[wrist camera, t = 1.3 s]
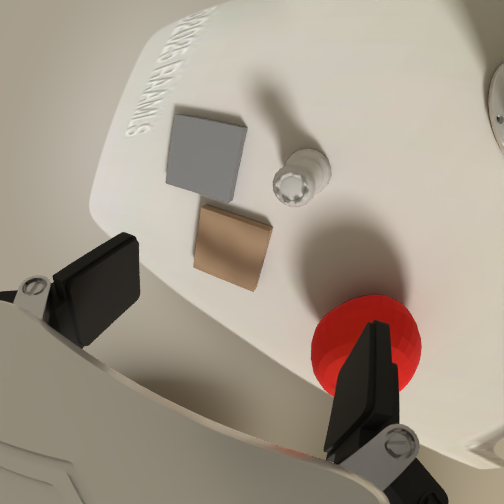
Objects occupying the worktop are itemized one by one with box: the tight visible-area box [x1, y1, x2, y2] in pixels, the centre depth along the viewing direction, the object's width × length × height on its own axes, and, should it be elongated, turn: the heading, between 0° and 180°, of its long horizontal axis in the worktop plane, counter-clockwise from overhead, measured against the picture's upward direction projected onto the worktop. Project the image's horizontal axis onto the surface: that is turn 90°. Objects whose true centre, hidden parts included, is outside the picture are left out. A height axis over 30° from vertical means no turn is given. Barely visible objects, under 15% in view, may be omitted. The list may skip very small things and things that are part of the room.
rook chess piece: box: [273, 149, 331, 207], centre depth 24 cm, size 4×4×8 cm
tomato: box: [311, 295, 422, 396], centre depth 28 cm, size 12×12×10 cm
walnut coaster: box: [193, 204, 273, 292], centre depth 33 cm, size 8×8×1 cm
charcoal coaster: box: [166, 114, 247, 203], centre depth 30 cm, size 8×8×1 cm
